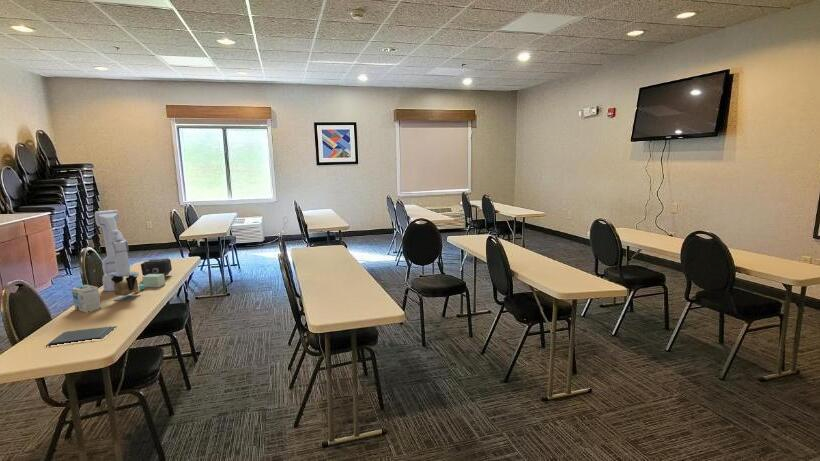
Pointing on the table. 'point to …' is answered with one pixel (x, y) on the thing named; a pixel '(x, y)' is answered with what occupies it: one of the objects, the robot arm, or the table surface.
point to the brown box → (124, 288)
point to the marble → (141, 287)
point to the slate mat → (127, 298)
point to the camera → (156, 267)
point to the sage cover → (153, 280)
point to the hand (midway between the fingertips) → (126, 290)
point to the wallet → (82, 335)
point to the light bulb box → (86, 298)
